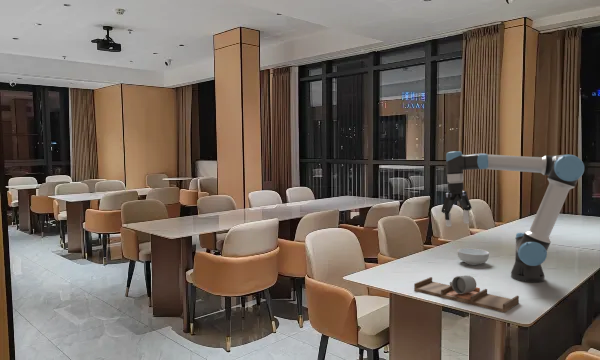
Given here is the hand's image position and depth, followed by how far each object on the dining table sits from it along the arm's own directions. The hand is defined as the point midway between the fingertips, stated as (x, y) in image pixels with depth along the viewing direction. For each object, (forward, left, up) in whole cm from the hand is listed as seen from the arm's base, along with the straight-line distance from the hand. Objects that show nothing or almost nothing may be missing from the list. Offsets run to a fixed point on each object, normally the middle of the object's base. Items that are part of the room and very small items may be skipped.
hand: (457, 224), depth 225 cm
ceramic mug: (+4, +27, -25) cm, 37 cm away
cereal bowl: (-16, -34, -28) cm, 46 cm away
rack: (+2, +28, -27) cm, 39 cm away
